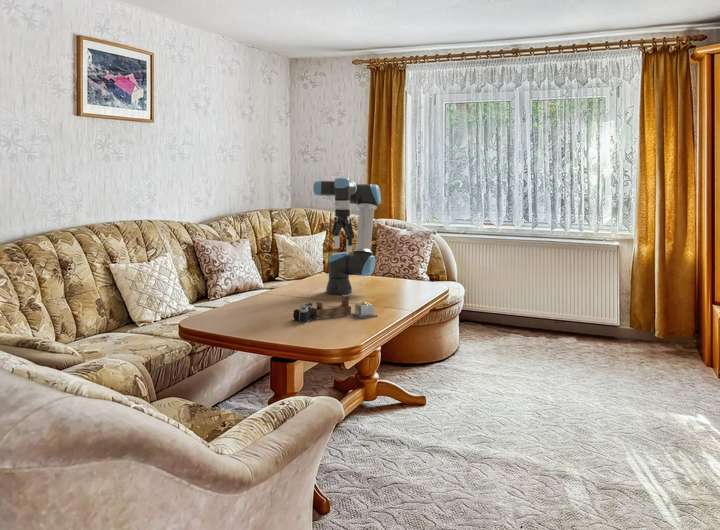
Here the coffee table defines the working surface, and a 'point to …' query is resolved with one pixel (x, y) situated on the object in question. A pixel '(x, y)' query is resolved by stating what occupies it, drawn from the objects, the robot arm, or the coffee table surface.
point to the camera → (304, 313)
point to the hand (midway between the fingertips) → (343, 250)
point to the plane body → (332, 309)
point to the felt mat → (364, 316)
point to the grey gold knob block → (364, 309)
